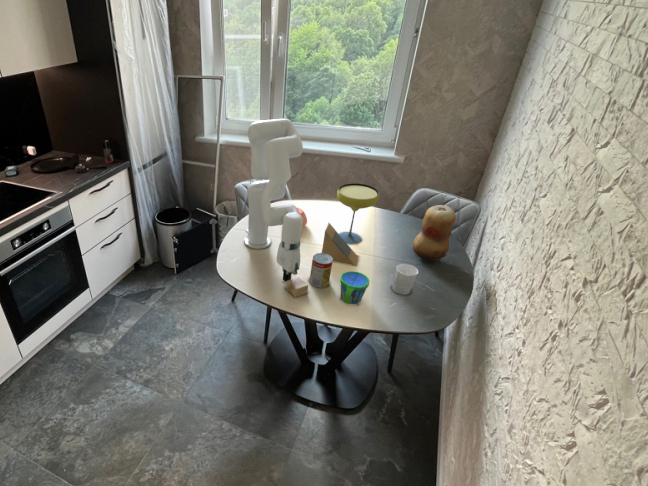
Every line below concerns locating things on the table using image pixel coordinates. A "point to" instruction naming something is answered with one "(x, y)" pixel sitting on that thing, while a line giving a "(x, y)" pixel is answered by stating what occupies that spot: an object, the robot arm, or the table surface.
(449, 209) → the butternut squash
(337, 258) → the sandwich container
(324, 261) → the canned food
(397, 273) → the white cup
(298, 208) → the sugar bowl
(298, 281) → the block
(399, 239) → the table surface
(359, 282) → the snack cup
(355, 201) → the cocktail glass
